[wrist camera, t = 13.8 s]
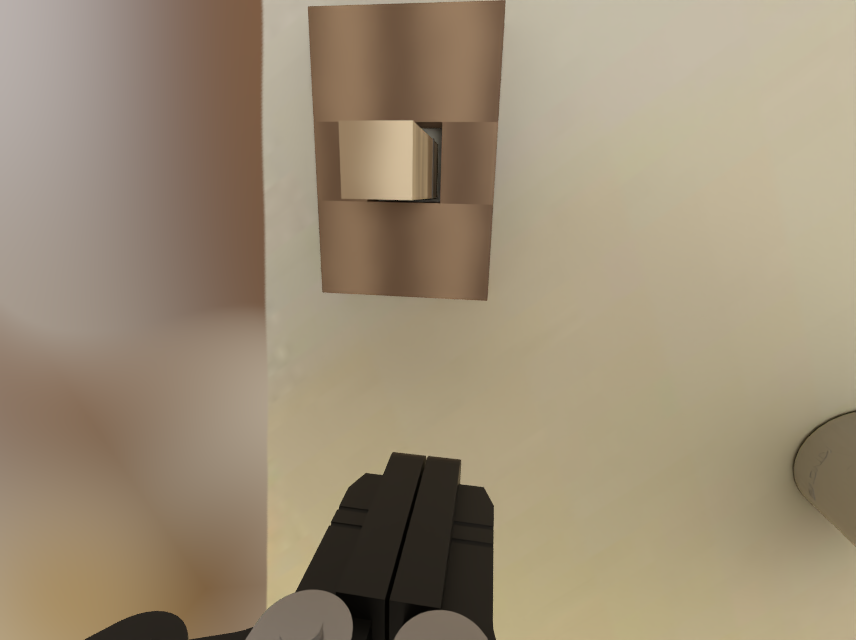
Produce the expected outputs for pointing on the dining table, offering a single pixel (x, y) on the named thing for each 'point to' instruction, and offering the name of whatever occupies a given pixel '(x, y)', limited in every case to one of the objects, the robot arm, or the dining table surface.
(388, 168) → the beech peg
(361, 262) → the walnut board
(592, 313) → the dining table surface
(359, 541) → the robot arm
